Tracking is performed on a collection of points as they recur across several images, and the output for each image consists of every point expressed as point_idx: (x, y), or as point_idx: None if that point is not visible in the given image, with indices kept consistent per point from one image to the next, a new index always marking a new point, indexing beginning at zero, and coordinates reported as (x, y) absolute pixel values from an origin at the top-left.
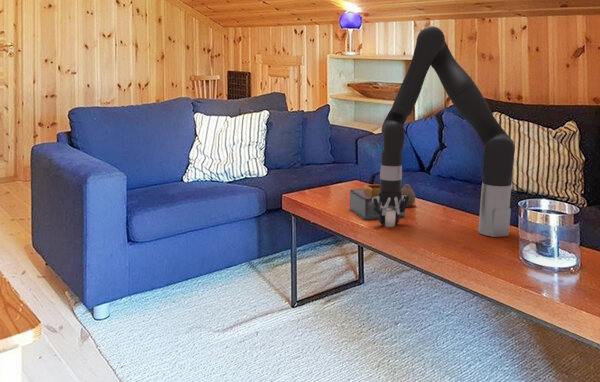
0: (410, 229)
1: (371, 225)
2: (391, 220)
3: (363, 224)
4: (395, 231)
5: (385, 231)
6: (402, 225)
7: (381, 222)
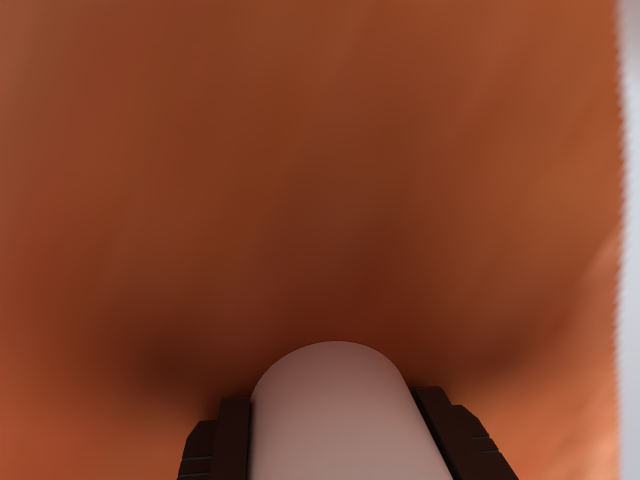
0: (99, 154)
1: (529, 430)
2: (357, 403)
3: (583, 472)
4: (388, 124)
5: (521, 168)
6: (152, 366)
7: (470, 419)
